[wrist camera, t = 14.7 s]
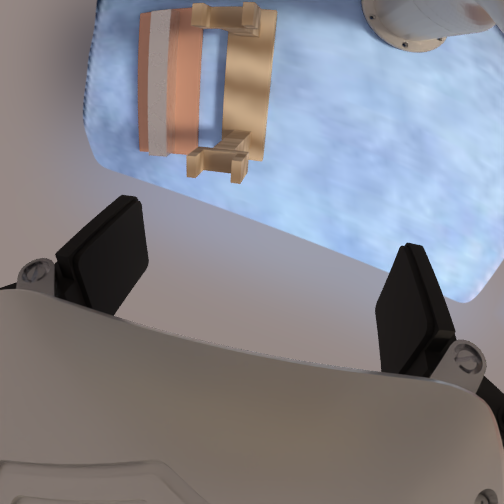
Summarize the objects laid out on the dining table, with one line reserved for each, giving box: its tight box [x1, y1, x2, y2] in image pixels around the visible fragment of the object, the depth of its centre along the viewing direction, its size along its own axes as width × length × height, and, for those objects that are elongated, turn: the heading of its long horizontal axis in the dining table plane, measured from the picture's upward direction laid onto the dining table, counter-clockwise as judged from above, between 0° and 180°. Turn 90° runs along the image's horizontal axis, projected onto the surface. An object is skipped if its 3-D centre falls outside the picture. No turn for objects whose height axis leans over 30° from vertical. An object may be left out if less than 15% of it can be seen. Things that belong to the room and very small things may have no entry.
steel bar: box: [148, 9, 180, 157], centre depth 37 cm, size 22×3×3 cm, turn 175°
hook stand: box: [187, 2, 277, 184], centre depth 32 cm, size 22×6×14 cm, turn 175°
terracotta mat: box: [138, 8, 203, 155], centre depth 39 cm, size 23×10×1 cm, turn 175°
